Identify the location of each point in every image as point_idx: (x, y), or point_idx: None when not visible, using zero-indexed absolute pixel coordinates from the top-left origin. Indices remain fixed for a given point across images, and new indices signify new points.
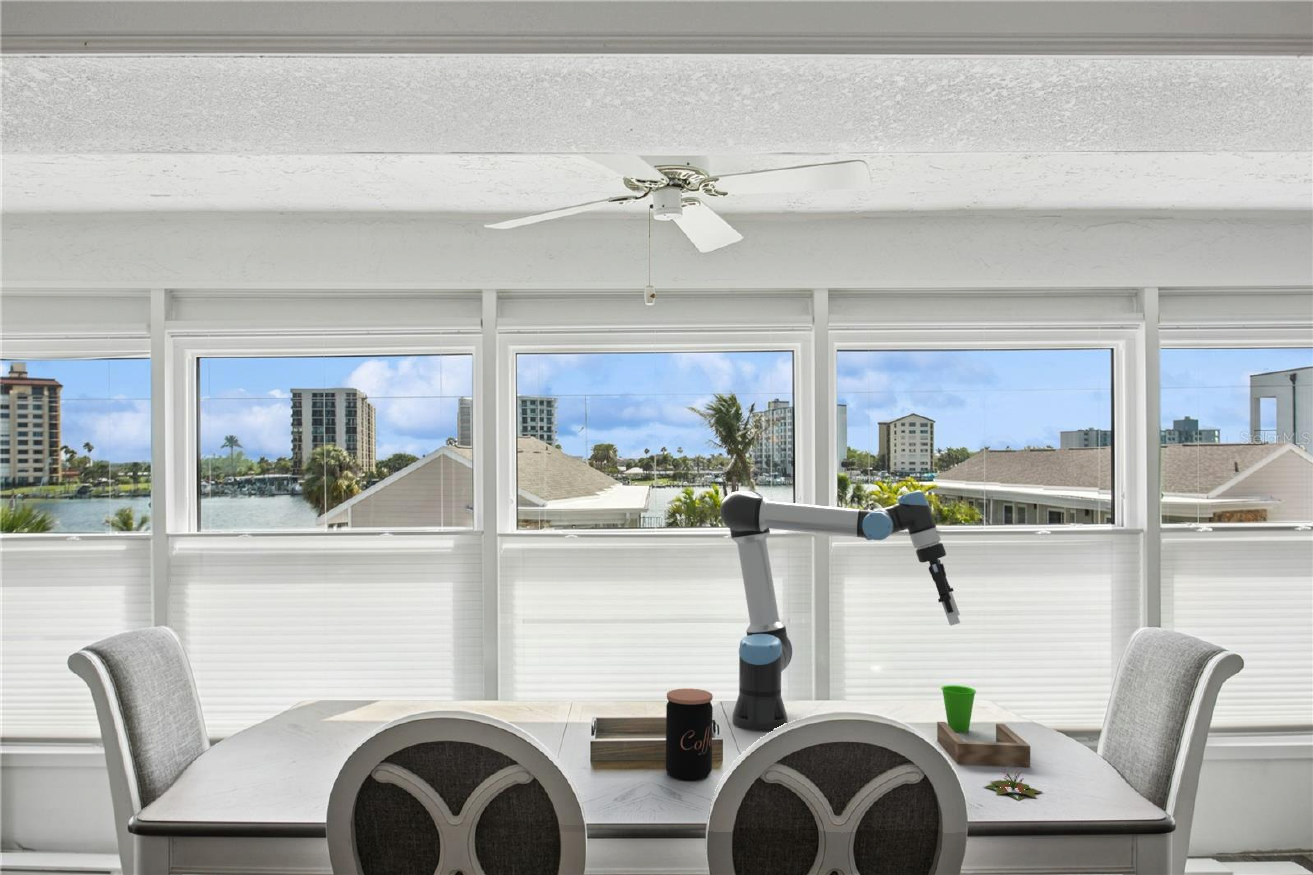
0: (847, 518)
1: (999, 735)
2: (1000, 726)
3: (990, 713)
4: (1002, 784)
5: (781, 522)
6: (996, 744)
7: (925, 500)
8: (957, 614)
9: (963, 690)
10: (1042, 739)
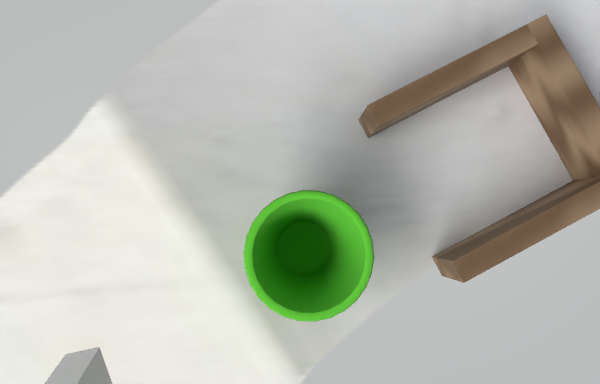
0: None
1: (398, 118)
2: (403, 109)
3: (65, 200)
4: None
5: None
6: (587, 92)
7: None
8: (103, 376)
9: (256, 246)
10: (261, 38)
